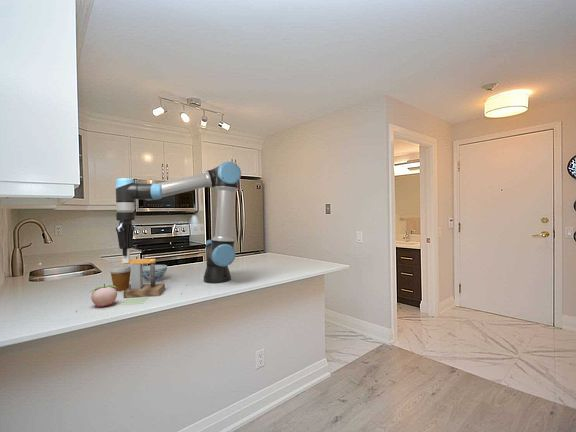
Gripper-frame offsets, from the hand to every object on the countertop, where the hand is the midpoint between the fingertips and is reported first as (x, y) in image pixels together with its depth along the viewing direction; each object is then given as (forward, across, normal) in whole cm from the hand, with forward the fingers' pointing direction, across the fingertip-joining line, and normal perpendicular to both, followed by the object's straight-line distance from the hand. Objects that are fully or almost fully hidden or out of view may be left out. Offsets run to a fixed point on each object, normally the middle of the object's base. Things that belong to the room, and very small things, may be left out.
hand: (126, 262), depth 141 cm
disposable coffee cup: (+16, -10, -8) cm, 21 cm away
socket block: (+16, -2, +8) cm, 18 cm away
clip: (+1, -2, +5) cm, 5 cm away
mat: (+16, +10, +9) cm, 21 cm away
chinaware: (+16, -32, -1) cm, 36 cm away
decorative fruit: (+16, +16, -1) cm, 23 cm away
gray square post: (+15, -1, +4) cm, 16 cm away
